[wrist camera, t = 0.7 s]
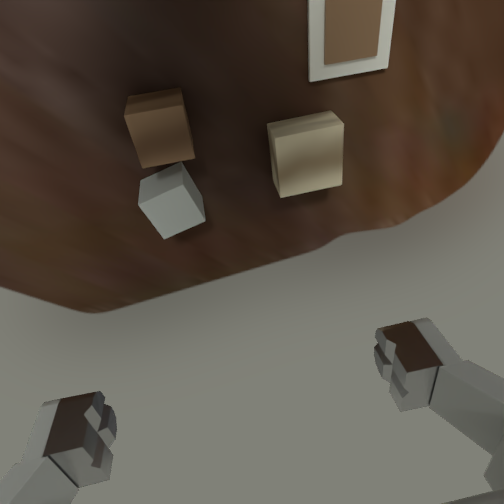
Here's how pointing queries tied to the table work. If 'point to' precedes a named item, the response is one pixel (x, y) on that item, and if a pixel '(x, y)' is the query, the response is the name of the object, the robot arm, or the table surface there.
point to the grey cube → (171, 200)
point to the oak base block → (306, 153)
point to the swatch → (348, 37)
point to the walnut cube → (159, 127)
